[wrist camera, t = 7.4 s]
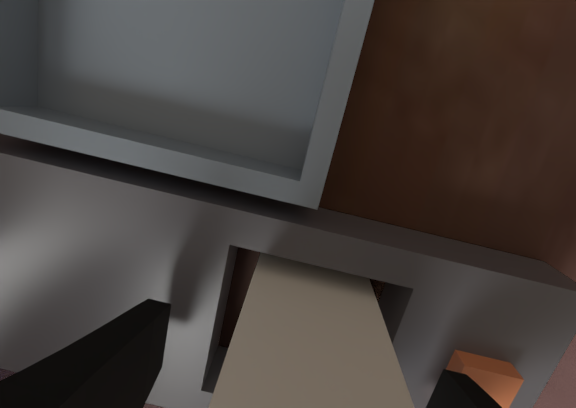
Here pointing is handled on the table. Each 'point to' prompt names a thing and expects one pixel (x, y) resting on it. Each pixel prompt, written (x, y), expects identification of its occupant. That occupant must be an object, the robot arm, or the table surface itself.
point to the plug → (309, 343)
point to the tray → (187, 85)
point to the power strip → (220, 265)
